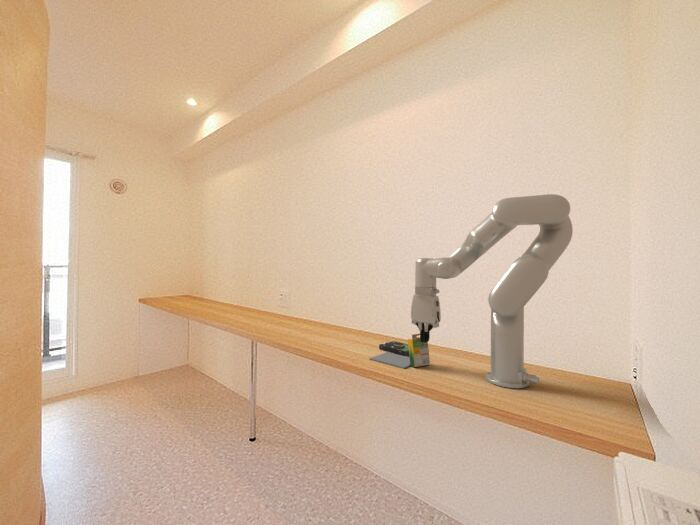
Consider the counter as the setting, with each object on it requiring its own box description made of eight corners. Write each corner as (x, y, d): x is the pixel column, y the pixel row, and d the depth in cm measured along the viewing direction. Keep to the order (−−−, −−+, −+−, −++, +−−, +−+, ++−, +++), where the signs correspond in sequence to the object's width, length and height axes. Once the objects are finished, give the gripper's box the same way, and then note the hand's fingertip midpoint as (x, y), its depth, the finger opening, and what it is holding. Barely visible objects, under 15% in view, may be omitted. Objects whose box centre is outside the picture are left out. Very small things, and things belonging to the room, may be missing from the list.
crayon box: (425, 363, 116) (422, 332, 118) (430, 364, 114) (427, 332, 115) (409, 366, 113) (407, 334, 115) (414, 367, 110) (412, 334, 112)
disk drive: (378, 350, 136) (405, 357, 125) (378, 344, 136) (405, 351, 125) (393, 346, 143) (420, 353, 132) (393, 340, 143) (420, 346, 132)
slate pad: (421, 361, 119) (421, 360, 119) (404, 368, 110) (404, 367, 110) (387, 353, 130) (387, 352, 130) (369, 359, 121) (369, 358, 121)
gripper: (449, 292, 110) (448, 343, 110) (413, 289, 120) (412, 336, 120) (439, 293, 104) (438, 347, 104) (402, 290, 115) (401, 339, 114)
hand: (424, 341), depth 112 cm, fingers closed
